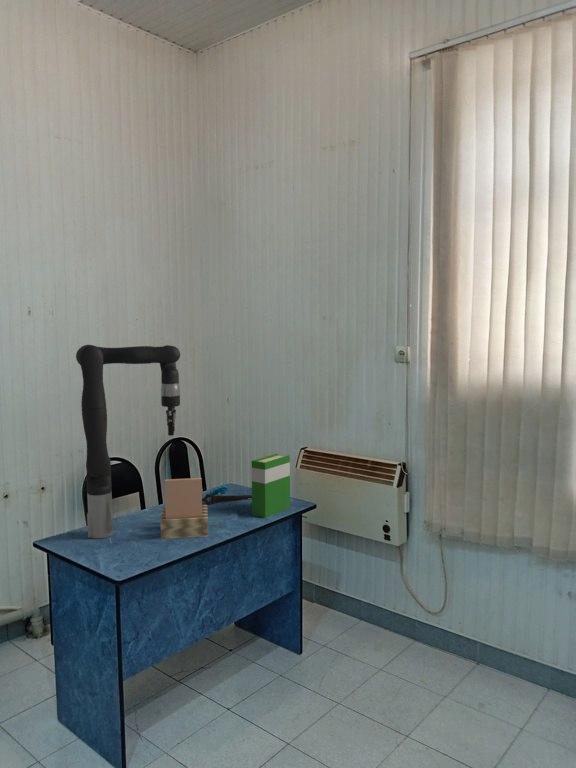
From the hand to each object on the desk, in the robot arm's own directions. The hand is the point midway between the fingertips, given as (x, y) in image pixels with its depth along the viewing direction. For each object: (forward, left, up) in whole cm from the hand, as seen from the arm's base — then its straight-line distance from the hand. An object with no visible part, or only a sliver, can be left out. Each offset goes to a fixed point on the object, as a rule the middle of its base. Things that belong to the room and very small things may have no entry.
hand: (171, 433), depth 263 cm
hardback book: (+42, +10, -38) cm, 58 cm away
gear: (+19, +31, -38) cm, 53 cm away
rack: (+5, -13, -38) cm, 41 cm away
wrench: (+26, +27, -39) cm, 54 cm away
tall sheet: (+5, -19, -37) cm, 42 cm away
